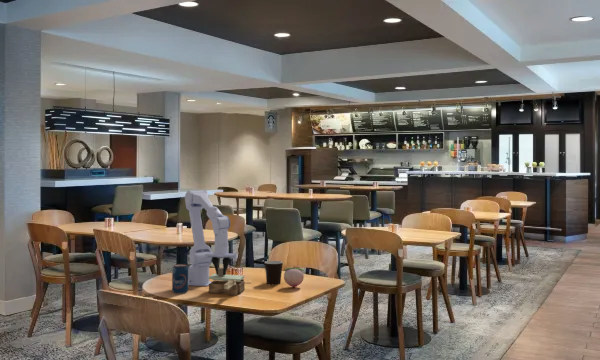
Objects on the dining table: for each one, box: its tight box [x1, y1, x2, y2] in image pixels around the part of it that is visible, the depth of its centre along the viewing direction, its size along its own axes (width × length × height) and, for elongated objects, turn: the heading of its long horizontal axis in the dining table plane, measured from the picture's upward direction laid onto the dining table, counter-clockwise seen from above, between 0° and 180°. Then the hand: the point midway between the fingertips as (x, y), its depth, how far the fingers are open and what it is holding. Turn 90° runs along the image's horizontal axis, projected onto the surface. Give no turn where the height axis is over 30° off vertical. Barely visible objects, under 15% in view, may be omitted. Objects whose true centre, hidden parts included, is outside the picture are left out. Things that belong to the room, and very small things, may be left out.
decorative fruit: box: [283, 267, 305, 288], centre depth 263 cm, size 9×8×10 cm
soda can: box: [171, 263, 189, 294], centre depth 253 cm, size 7×7×12 cm
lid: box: [209, 267, 245, 282], centre depth 254 cm, size 14×8×5 cm, turn 81°
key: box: [224, 280, 236, 289], centre depth 242 cm, size 3×10×2 cm, turn 171°
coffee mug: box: [264, 260, 284, 286], centre depth 273 cm, size 12×9×10 cm
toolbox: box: [208, 278, 246, 297], centre depth 254 cm, size 14×13×5 cm
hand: (221, 274), depth 255 cm, fingers closed on lid, 2 cm apart
